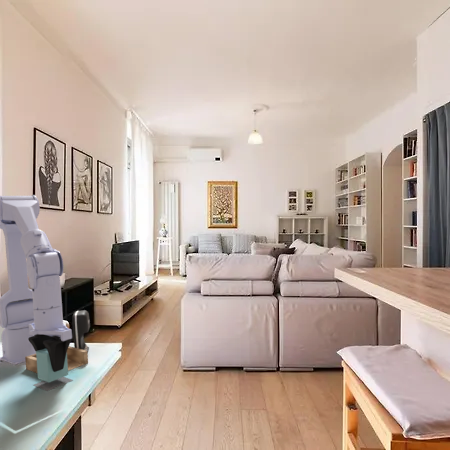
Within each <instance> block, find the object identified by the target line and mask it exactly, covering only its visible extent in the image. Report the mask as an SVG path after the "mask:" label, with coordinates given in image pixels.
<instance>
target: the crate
mask: <svg viewBox="0 0 450 450" xmlns="http://www.w3.org/2000/svg"><path fill="white" fill-rule="evenodd" d="M25 360H26V361H25V369H26V370H28V371H30V372H33V373H34V374H35V373H36V374H38V372H37V357H36V354H33V355H30V356H26V357H25ZM67 363H68V372H69V371H72V370H74V369H77V368H79V367H82V366H85V365H87V364H88V363H89V352H88V353H87V351H86V350H82V349H78V348H74V346H70V345H69V347H68V350H67Z"/></svg>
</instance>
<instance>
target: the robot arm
mask: <svg viewBox="0 0 450 450" xmlns="http://www.w3.org/2000/svg"><path fill="white" fill-rule="evenodd" d="M40 211H41V210H40V200H39V198H38V197H37V196H36V195H35V194H32V195H0V230H2V232H3V235H4V243H5V254H6V256H5V257H6V269H7V281H8V290H7V291H6V292H5V293H3V294H2V296H0V327H1V328H2V329H3V330H2V333H1V348H2V349H1V351H2V356H0V361H2V362H6V363H9V364H11V365H19V364H21V363H26V360H25V357H26V356H30V355H33V354H36V351H39V350H42V349H45V348H46V349H47V351H48V353H49V357H50V362H51V366H52V370H53V372H56V371H59V370H62V369H63V368H64V363H65V357H66V353H67V350H68V347H69V346H70V344H71V343H72V340H73V329H71V328H69V327H67V325H66V324H65V323H64V318H63V303H62V302H63V301H62V289H61V288H62V286H61V277H62V276H63V274H64V258H63V256H62V253H61V252H60V250H57V249H56V248H53V246H52V245H51V242H50V240H49V238H48V235H47V234H46V231H44V230H41V229H40V228H39V224H38V221H37V219H38V217H39V214H40Z"/></svg>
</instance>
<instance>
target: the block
mask: <svg viewBox="0 0 450 450" xmlns="http://www.w3.org/2000/svg"><path fill="white" fill-rule="evenodd" d="M36 357H37V372H38V373H37V379H39V380H41V381H46V382H51V381H54V380H57V379H59V378H62V377H66V376H69V371H68V363H67V353H66V357H65V363H64V368H63V369H62V370H59V371H56V372H53V370H52V366H51V362H50V357H49V353H48V351H47V349H46V348H45V349H42V350H39V351H36Z"/></svg>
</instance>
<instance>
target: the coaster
mask: <svg viewBox="0 0 450 450" xmlns="http://www.w3.org/2000/svg"><path fill="white" fill-rule="evenodd" d="M73 381H74V380H73V379H71V378H69V377H66V376H64V377H62V378H59V379H57V380H54V381H51V382H46V381H43V380H41V381H40V382H38V383H35V384H33V386H34V387H35V388H36V387H37V388H39V389H41V390H43V391H46V392H48V391H50V390H53V389H56V388H59V387H61V386H62V385H65V384H68V383H70V382H73Z"/></svg>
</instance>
